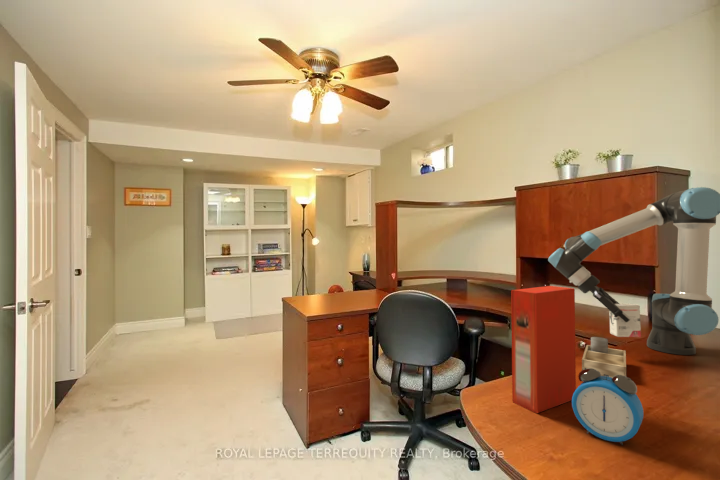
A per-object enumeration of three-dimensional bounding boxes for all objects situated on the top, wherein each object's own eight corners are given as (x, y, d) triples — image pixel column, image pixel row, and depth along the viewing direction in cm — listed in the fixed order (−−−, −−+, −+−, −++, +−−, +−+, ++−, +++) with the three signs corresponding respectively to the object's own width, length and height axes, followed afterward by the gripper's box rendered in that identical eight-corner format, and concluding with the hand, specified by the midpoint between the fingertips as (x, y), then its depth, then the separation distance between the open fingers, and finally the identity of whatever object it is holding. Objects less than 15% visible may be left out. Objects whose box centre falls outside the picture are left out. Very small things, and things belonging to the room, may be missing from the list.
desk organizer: (625, 364, 128) (625, 339, 128) (626, 382, 112) (626, 354, 112) (586, 357, 135) (586, 334, 135) (581, 374, 119) (581, 347, 119)
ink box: (632, 333, 136) (632, 302, 136) (641, 337, 131) (641, 305, 131) (608, 333, 137) (608, 302, 136) (616, 337, 132) (616, 305, 131)
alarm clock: (571, 429, 85) (571, 368, 85) (578, 420, 89) (578, 362, 89) (639, 453, 76) (639, 384, 76) (644, 441, 80) (643, 376, 80)
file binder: (511, 401, 100) (511, 289, 100) (549, 388, 108) (549, 285, 108) (537, 414, 93) (537, 293, 92) (575, 399, 101) (575, 288, 101)
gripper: (579, 283, 151) (626, 325, 141) (573, 289, 134) (627, 338, 125) (593, 271, 148) (643, 314, 138) (590, 276, 131) (646, 325, 122)
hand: (635, 325), depth 132 cm, fingers closed on ink box, 8 cm apart
